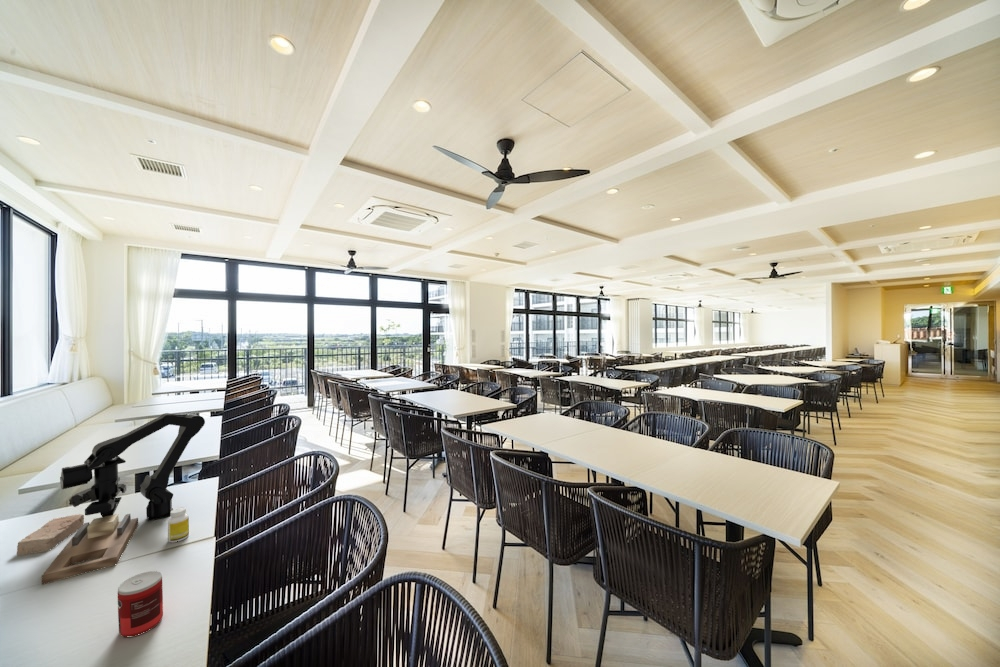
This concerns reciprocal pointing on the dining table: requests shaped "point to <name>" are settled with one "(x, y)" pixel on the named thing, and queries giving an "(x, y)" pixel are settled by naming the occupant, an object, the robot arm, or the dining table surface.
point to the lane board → (90, 551)
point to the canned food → (140, 603)
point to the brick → (50, 534)
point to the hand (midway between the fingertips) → (107, 522)
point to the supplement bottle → (178, 525)
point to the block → (103, 526)
